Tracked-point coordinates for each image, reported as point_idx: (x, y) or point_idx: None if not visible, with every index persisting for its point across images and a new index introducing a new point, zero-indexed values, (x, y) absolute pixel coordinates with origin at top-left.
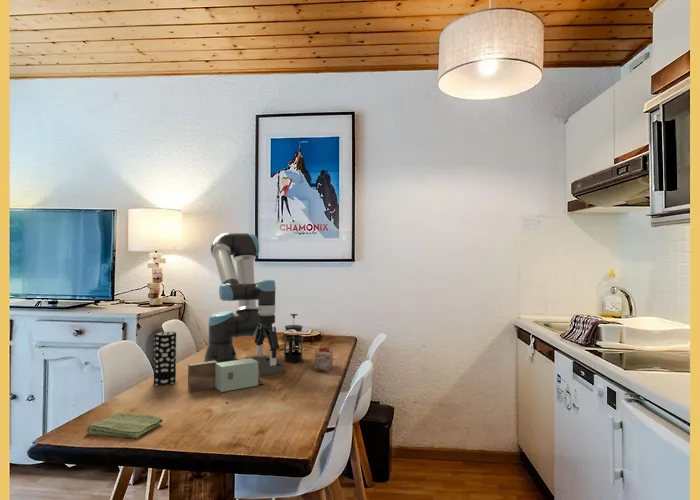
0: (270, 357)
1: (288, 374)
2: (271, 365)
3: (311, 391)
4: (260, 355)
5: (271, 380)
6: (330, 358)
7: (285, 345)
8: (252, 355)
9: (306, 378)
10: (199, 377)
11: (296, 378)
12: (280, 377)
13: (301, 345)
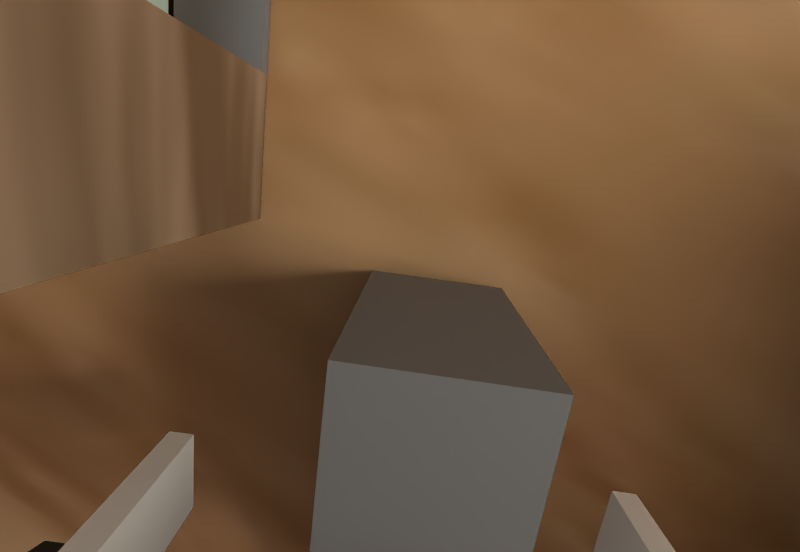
0: (88, 529)
1: (211, 519)
2: (168, 443)
3: None
4: (432, 518)
5: (113, 298)
6: None
7: None
8: (546, 413)
9: (15, 547)
10: None
11: (56, 494)
12: (162, 416)
13: None
